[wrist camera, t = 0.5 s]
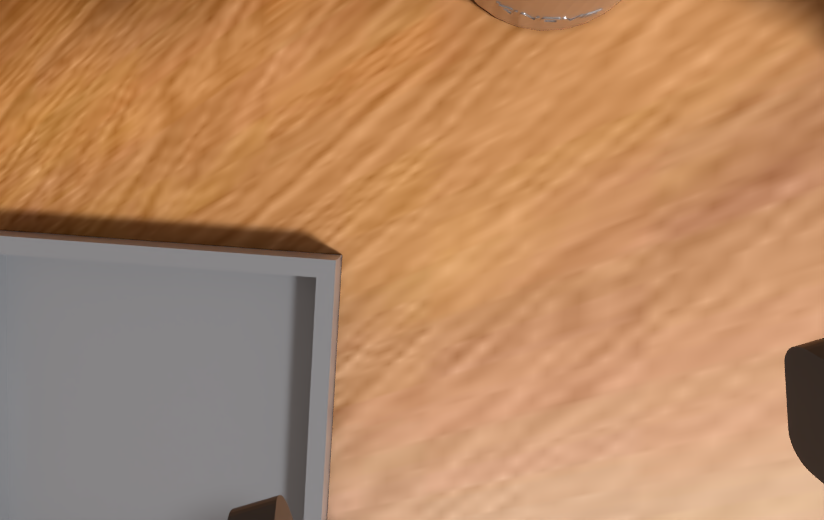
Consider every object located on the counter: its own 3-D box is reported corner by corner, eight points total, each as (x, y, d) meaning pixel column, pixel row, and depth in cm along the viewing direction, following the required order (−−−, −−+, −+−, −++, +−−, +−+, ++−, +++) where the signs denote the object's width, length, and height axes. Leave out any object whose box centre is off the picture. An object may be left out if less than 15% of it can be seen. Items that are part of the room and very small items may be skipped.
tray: (-3, 229, 29) (-34, 233, 27) (342, 254, 29) (335, 260, 27) (1, 552, 31) (-28, 577, 29) (323, 578, 31) (316, 605, 29)
